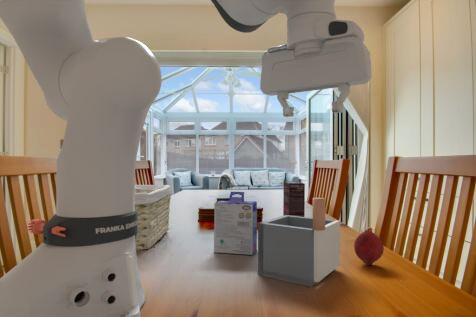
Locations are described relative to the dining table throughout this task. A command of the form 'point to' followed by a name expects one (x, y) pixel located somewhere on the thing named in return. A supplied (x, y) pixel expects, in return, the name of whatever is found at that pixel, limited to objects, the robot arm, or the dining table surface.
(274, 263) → the grey open box
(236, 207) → the ink cartridge box
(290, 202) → the supplement box
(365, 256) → the onion
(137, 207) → the storage basket
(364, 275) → the dining table surface
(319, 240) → the flap
